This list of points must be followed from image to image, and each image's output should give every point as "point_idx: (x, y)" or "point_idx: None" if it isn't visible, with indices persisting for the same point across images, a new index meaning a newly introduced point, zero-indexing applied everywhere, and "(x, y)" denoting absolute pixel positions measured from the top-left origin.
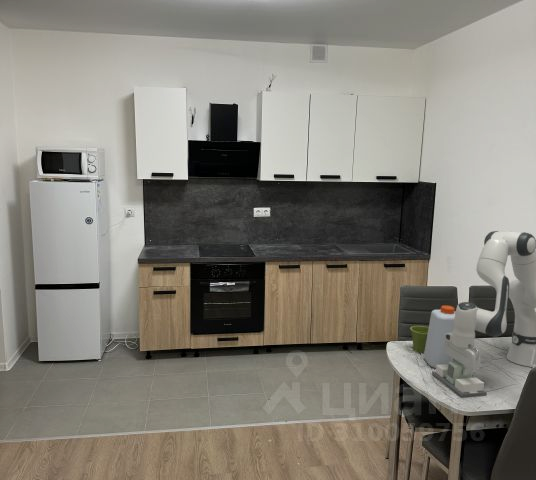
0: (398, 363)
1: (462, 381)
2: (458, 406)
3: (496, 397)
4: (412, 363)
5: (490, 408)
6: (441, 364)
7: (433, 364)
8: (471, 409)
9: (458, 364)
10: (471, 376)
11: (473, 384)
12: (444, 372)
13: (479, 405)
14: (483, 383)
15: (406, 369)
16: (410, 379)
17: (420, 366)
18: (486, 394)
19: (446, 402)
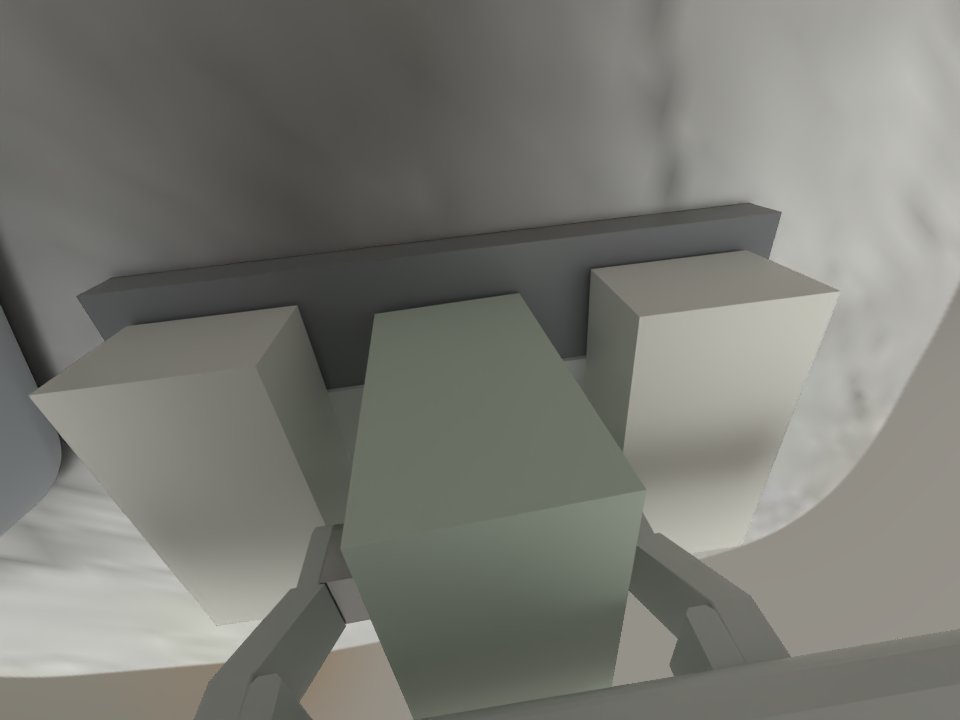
0: (68, 659)
1: (681, 528)
2: (773, 513)
3: (841, 83)
4: (4, 590)
5: (933, 315)
6: (8, 467)
7: (22, 516)
8: (846, 458)
9: (531, 691)
10: (546, 341)
11: (773, 438)
12: None
13: (844, 380)
14: (829, 298)
15: (183, 637)
16: (366, 641)
17: (56, 553)
18: (759, 206)
19: (701, 554)
